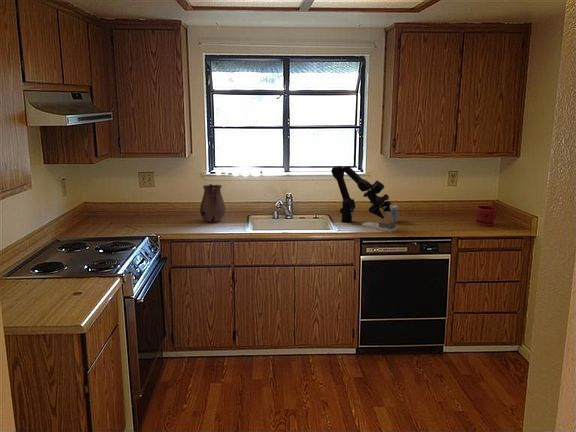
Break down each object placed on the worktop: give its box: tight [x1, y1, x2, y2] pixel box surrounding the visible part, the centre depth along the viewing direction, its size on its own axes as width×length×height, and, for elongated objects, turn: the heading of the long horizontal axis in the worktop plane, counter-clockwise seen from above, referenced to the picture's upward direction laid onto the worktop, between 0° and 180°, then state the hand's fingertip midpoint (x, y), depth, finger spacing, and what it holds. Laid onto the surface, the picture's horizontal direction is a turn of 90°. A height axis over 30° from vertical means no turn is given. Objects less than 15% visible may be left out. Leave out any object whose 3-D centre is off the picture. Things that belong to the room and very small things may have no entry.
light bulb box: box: [383, 204, 400, 223], centre depth 343 cm, size 11×7×11 cm, turn 143°
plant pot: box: [475, 205, 498, 227], centre depth 333 cm, size 13×13×12 cm
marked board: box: [361, 221, 398, 233], centre depth 326 cm, size 22×8×2 cm, turn 46°
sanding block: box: [378, 211, 397, 229], centre depth 321 cm, size 9×6×10 cm, turn 46°
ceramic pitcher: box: [199, 183, 226, 223], centre depth 344 cm, size 18×21×25 cm
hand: (387, 217), depth 321 cm, fingers open, 9 cm apart
